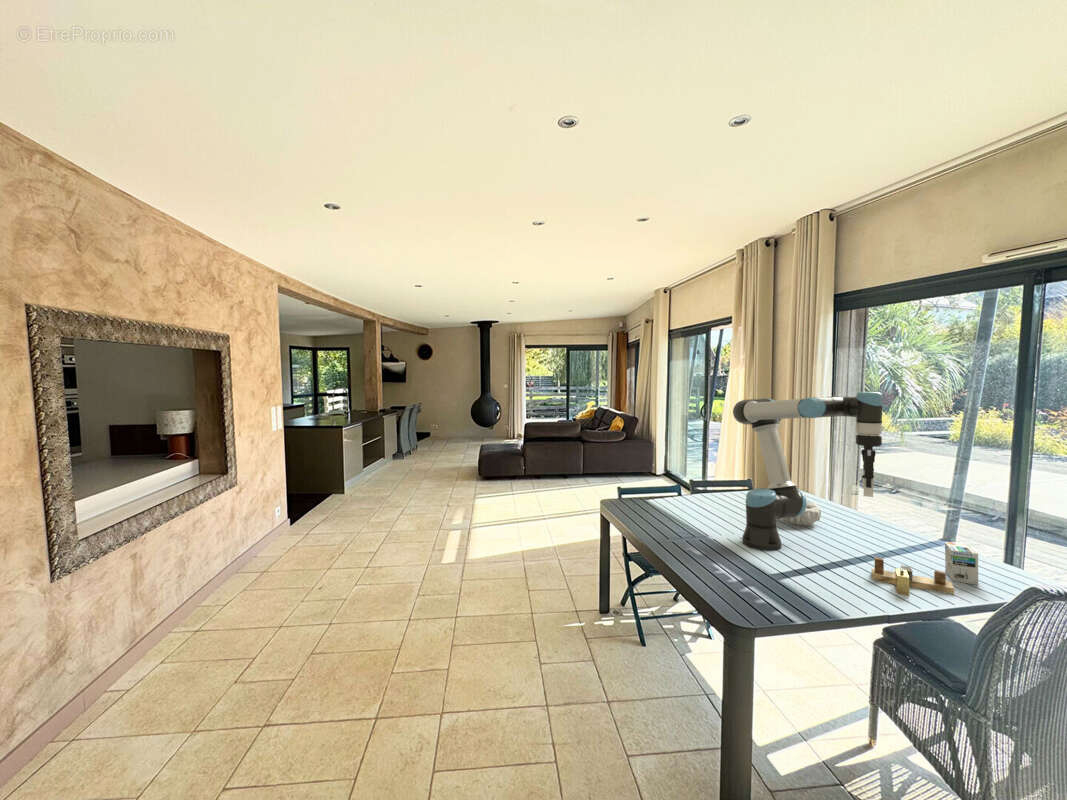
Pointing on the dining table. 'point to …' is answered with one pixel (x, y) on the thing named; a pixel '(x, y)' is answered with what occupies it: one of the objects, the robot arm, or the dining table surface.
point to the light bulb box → (961, 563)
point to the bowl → (806, 515)
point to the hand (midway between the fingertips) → (867, 492)
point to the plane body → (913, 578)
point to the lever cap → (902, 581)
